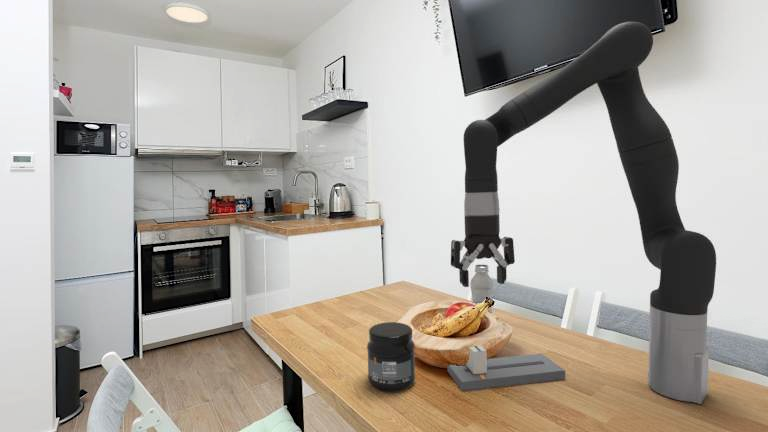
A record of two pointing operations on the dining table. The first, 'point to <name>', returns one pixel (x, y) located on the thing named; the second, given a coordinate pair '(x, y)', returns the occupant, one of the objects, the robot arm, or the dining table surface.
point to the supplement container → (391, 357)
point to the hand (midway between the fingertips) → (483, 284)
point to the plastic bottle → (481, 285)
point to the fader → (477, 360)
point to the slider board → (508, 372)
